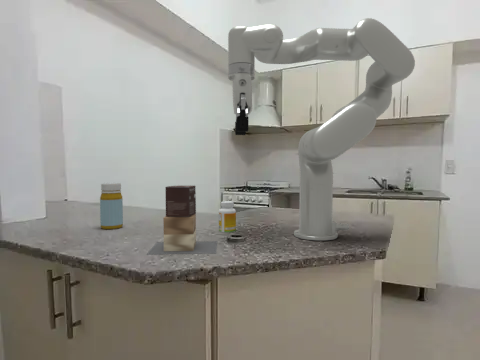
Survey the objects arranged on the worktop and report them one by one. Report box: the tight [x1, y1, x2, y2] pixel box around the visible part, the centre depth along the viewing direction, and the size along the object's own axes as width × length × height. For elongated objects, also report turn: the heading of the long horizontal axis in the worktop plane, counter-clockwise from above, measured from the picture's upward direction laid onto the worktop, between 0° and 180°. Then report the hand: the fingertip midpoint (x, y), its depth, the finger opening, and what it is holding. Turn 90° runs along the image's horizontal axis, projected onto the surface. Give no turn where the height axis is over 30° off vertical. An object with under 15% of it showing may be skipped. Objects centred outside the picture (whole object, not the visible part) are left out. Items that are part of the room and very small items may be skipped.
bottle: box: [99, 182, 124, 230], centre depth 108 cm, size 7×7×15 cm
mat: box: [146, 240, 218, 256], centre depth 80 cm, size 16×12×1 cm
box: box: [165, 185, 197, 217], centre depth 80 cm, size 6×6×7 cm
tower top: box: [162, 214, 197, 236], centre depth 80 cm, size 7×7×4 cm
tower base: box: [163, 228, 197, 251], centre depth 80 cm, size 7×7×4 cm
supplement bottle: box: [218, 200, 237, 233], centre depth 100 cm, size 5×5×10 cm
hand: (241, 133), depth 92 cm, fingers open, 9 cm apart
